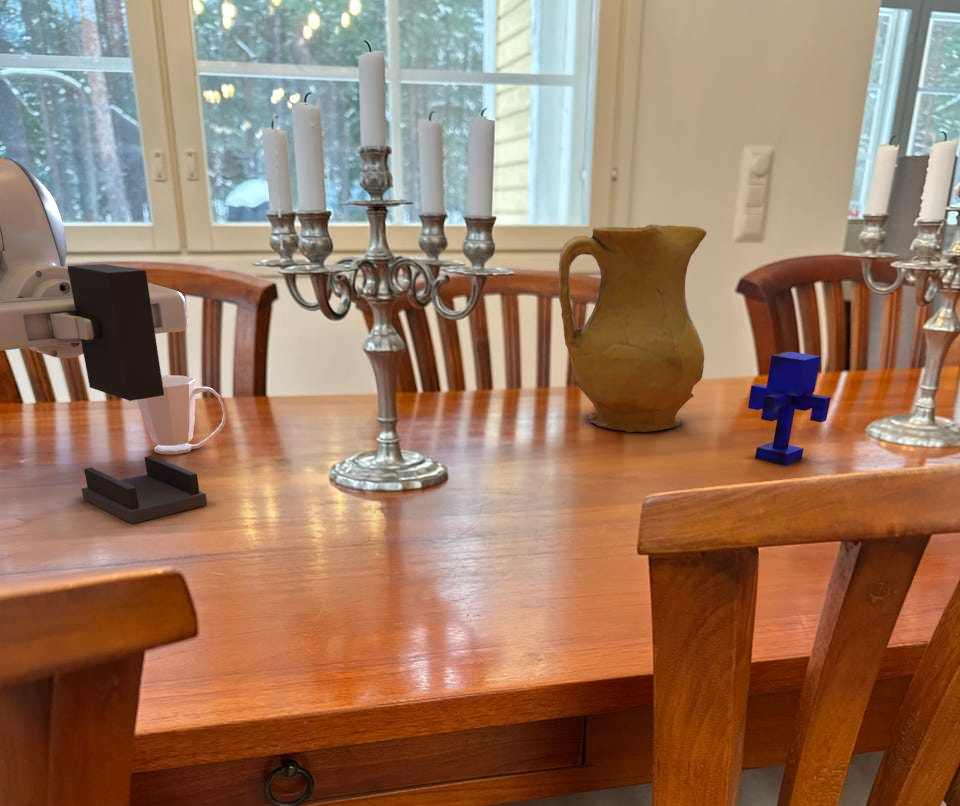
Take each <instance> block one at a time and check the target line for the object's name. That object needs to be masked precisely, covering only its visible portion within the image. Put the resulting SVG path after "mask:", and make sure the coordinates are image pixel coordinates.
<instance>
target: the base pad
mask: <svg viewBox="0 0 960 806" xmlns="http://www.w3.org/2000/svg"><path fill="white" fill-rule="evenodd" d="M143 459H144V464H145V469H146V470H145V472H146V474H141V475H136V476H132V477H127V478H123V479H118V478H116V477H113V476H112V475H109V474H106V473H104V472H102V471H100V470H98V469H96V468H93V467H88V468H87V467H86V468H84V469H83V471H84V477H85V481H86V482H85V483H86V487H82V488H81V492H82V499H83V500H84V501H86V502H87V503H90V504H92V505H93V506H96V507H98V508H100V509H102V510H104V511H106V512H107V513H109V514H111V515H114V516H115V517H118V518H120V519H121V520H124V521H125V522H127V523H129V524H131V525H133V524H138V523H141V522H145V521H149V520H153V519H158V518H162V517H165V516H169V515H174V514H177V513H181V512H185V511H189V510H193V509H197V508H201V507H205V506H208V500H207V494H206V493H205V492H202V491H200V486H199V478H198V473H196V472H193V471H191V470H189V469H186V468H183V467H181V466H178V465H176V464H173V463H171V462H169V461H166V460H164V459H161V458H158V457H156V456H153V455H147V456H146V455H145V456H144V457H143Z"/></svg>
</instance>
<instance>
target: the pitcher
mask: <svg viewBox="0 0 960 806" xmlns="http://www.w3.org/2000/svg"><path fill="white" fill-rule="evenodd" d="M591 230H592V236H591V237H590V236H588V235H576V236H573V237H571V238H569V239H567V241H566V242H565V243H564V245H563V246H562V248H561V251H560V254H559V262H558V279H559V280H558V281H559V282H558V285H559V286H558V299H559V300H558V301H559V304H560V308H561V313H560V315H561V320H562V327H563V339H564V345H565V347H566V348H567V352H568V354H569V358H570V361H571V365H572V366H571V367H572V368H573V369H572V370H573V373H574V380H575V384H576V386H577V387H578V389H580V391H581V392H582V393H583V394H584V395H585V396H586V397H587V399H588V400H589V401H590V402H591V403H592V405H594V408H595V410H596V411H594V412H592V413H590V414H589V416H588V417H587V419H589V423H590V424H591V423H592V424H593V425H596V426H598V427H601V428H606V429H610V430H616V431H624V432H626V433H633V432H642V433H649V432H655V431H656V432H657V431H663V430H668V429H673V428H675V427H677V428H678V426H680V424H681V421H680V419H678V418H676V416H677V414H678V412H679V411H680V410H681V409H682V408H683V407H684V406H685V404H686V403H688V402H689V401H690V400H691V399H692V398H694V394H693V393H692V392H693V388H694V387H695V385H697V384H698V383H699V382H700V381H701V380H702V378H703V373H704V368H705V363H704V362H705V351H704V345H703V342H702V340H701V338H700V335H699V332H698V330H697V328H696V326H695V324H694V322H693V320H692V317H691V315H690V313H689V309H688V304H687V303H688V302H687V297H686V277H687V272H688V267H689V263H690V260H691V259H692V256H693V254H695V252H696V251H697V249H698V247H699V246H700V244H701V242H702V241H703V240H704V239H705V237H706V236H707V231H706V230H705V229H704V228H701V227H698V226H690V225H689V226H686V225H672V224H669V225H667V224H666V225H661V224H653V223H652V224H647V225H645V226H636V227H628V226H627V227H626V226H624V227H623V226H621V227H620V226H604V227H603V226H602V227H601V226H600V227H596V226H594V227H592V229H591ZM581 255H588V256H592V257H593V258H594V259H595V261H596V263H597V266H598V268H599V272H600V279H599V280H600V281H599V288H598V292H597V297H596V301H595V304H594V307H593V310H592V312H591V314H590V316H589V317H588V319H587V321H586V322H585V324H584V325H583V326H582V327H581V328H577V327H576V323H575V318H574V312H573V307H572V294H571V288H570V287H571V286H570V272H571V266H572V263H574V261H575V260H576V259H577V257H579V256H581Z"/></svg>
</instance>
